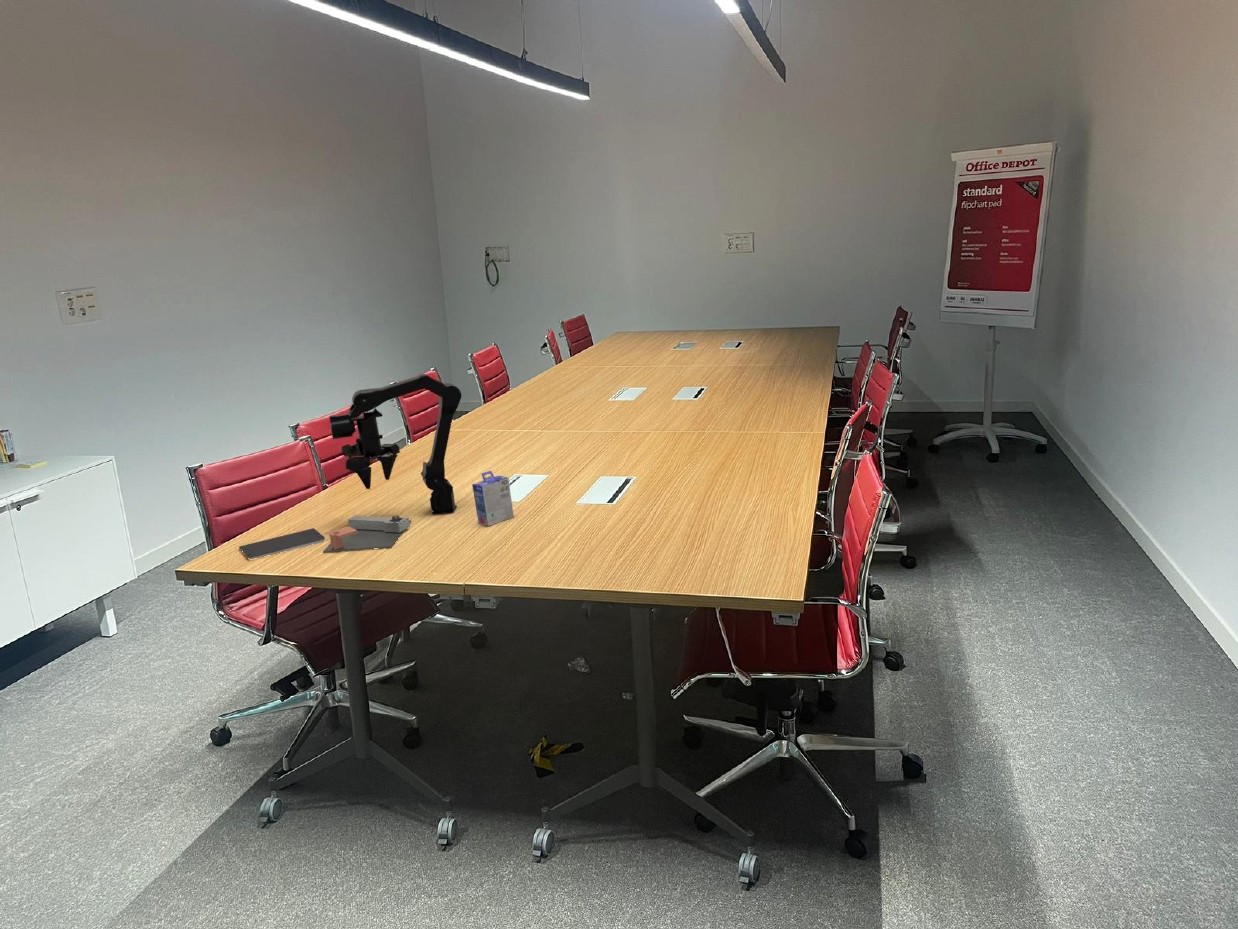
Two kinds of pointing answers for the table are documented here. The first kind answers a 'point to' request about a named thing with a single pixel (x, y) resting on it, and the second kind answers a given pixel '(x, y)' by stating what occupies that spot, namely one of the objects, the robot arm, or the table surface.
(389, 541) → the pintle plate
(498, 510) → the ink cartridge box
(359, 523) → the link
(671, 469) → the table surface
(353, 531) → the keeper
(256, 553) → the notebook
